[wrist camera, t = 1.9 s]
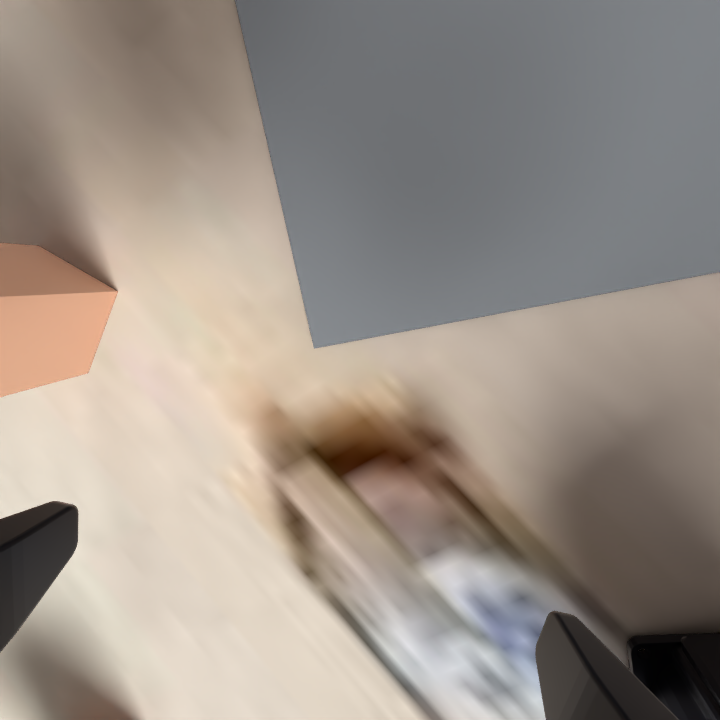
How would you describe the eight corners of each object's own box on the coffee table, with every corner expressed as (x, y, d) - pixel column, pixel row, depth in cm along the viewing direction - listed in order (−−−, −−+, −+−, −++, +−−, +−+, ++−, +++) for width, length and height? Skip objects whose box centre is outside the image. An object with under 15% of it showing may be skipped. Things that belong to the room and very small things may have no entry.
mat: (869, 242, 15) (880, 241, 14) (316, 346, 19) (314, 348, 19) (850, -320, 13) (863, -339, 12) (224, -60, 17) (219, -68, 16)
